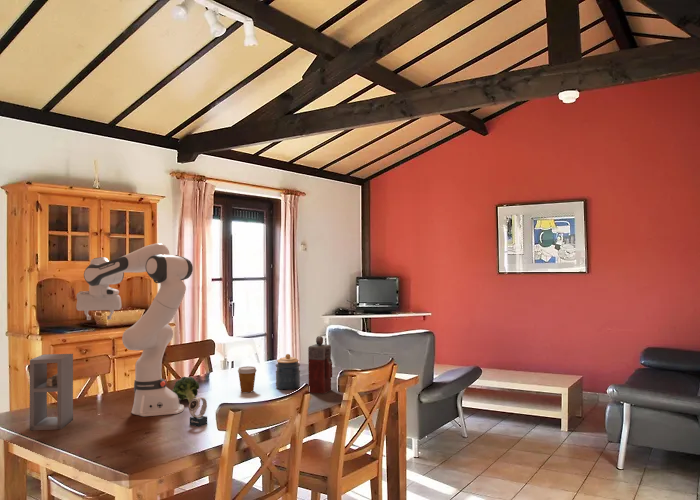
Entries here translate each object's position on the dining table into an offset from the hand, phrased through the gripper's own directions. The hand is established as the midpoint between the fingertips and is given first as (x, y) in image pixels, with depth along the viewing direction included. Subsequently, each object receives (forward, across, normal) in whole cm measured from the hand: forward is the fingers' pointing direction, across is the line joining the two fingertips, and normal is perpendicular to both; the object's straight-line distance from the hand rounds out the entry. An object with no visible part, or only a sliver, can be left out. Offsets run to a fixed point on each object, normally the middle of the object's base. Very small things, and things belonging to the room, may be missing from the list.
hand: (99, 319), depth 281 cm
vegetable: (+39, +43, -7) cm, 58 cm away
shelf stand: (+39, -7, -38) cm, 55 cm away
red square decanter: (+39, +108, +3) cm, 115 cm away
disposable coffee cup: (+39, +70, +9) cm, 81 cm away
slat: (+23, -7, -32) cm, 40 cm away
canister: (+39, +91, +15) cm, 100 cm away
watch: (+40, +53, -49) cm, 82 cm away
